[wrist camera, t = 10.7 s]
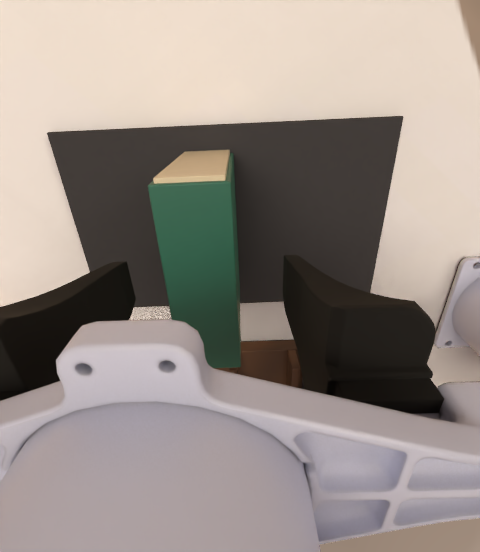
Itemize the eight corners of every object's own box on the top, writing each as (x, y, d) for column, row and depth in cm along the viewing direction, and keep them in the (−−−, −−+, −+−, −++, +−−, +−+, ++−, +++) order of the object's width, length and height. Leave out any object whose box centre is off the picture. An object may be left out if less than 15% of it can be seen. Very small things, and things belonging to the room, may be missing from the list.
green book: (233, 148, 18) (230, 175, 11) (239, 285, 22) (241, 367, 15) (181, 151, 18) (145, 179, 11) (198, 287, 22) (180, 370, 15)
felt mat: (400, 116, 17) (403, 116, 17) (367, 295, 23) (369, 298, 23) (50, 132, 18) (46, 132, 17) (103, 305, 23) (101, 308, 23)
